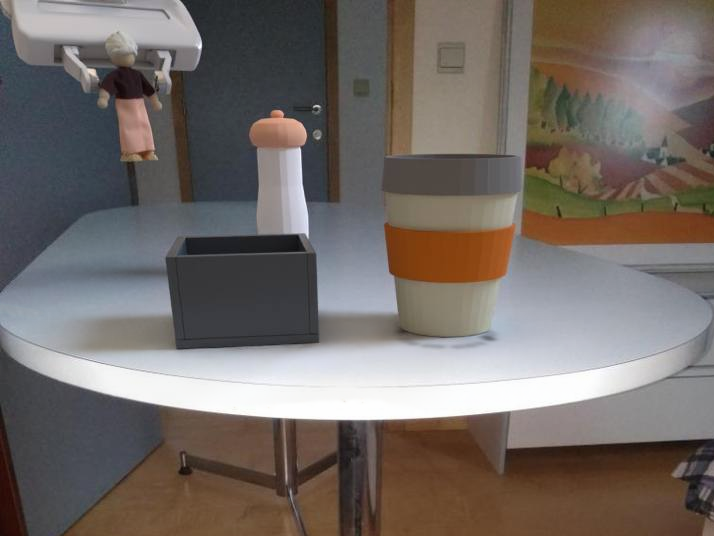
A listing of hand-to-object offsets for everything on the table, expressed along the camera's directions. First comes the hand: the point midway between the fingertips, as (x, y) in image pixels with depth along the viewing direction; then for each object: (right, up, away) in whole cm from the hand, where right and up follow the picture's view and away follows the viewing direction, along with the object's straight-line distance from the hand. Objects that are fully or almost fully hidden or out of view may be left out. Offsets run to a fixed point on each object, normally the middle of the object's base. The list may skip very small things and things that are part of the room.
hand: (130, 89), depth 79 cm
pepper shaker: (+15, -15, +17) cm, 27 cm away
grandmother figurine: (0, -6, +4) cm, 7 cm away
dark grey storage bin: (+15, -28, -9) cm, 33 cm away
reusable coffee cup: (+34, -28, -9) cm, 45 cm away
